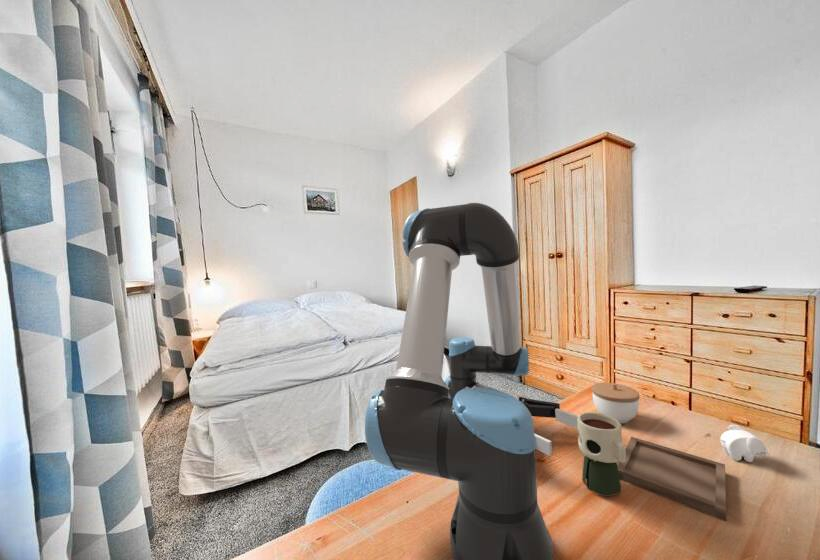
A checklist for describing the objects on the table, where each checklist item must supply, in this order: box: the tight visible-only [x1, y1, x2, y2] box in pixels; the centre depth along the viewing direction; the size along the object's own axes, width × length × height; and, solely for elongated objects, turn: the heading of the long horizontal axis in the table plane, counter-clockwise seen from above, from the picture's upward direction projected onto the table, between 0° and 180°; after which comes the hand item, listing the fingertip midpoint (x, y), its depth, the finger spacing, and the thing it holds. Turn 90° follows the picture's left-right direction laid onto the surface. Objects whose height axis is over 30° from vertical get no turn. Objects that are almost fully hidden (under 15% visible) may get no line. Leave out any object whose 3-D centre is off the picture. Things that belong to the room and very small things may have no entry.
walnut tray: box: [617, 436, 727, 522], centre depth 59 cm, size 15×15×2 cm
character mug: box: [576, 411, 626, 497], centre depth 57 cm, size 11×7×13 cm, turn 11°
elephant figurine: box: [716, 424, 769, 463], centre depth 63 cm, size 7×8×6 cm
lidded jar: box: [591, 382, 640, 424], centre depth 81 cm, size 11×11×9 cm
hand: (568, 436), depth 63 cm, fingers open, 13 cm apart
